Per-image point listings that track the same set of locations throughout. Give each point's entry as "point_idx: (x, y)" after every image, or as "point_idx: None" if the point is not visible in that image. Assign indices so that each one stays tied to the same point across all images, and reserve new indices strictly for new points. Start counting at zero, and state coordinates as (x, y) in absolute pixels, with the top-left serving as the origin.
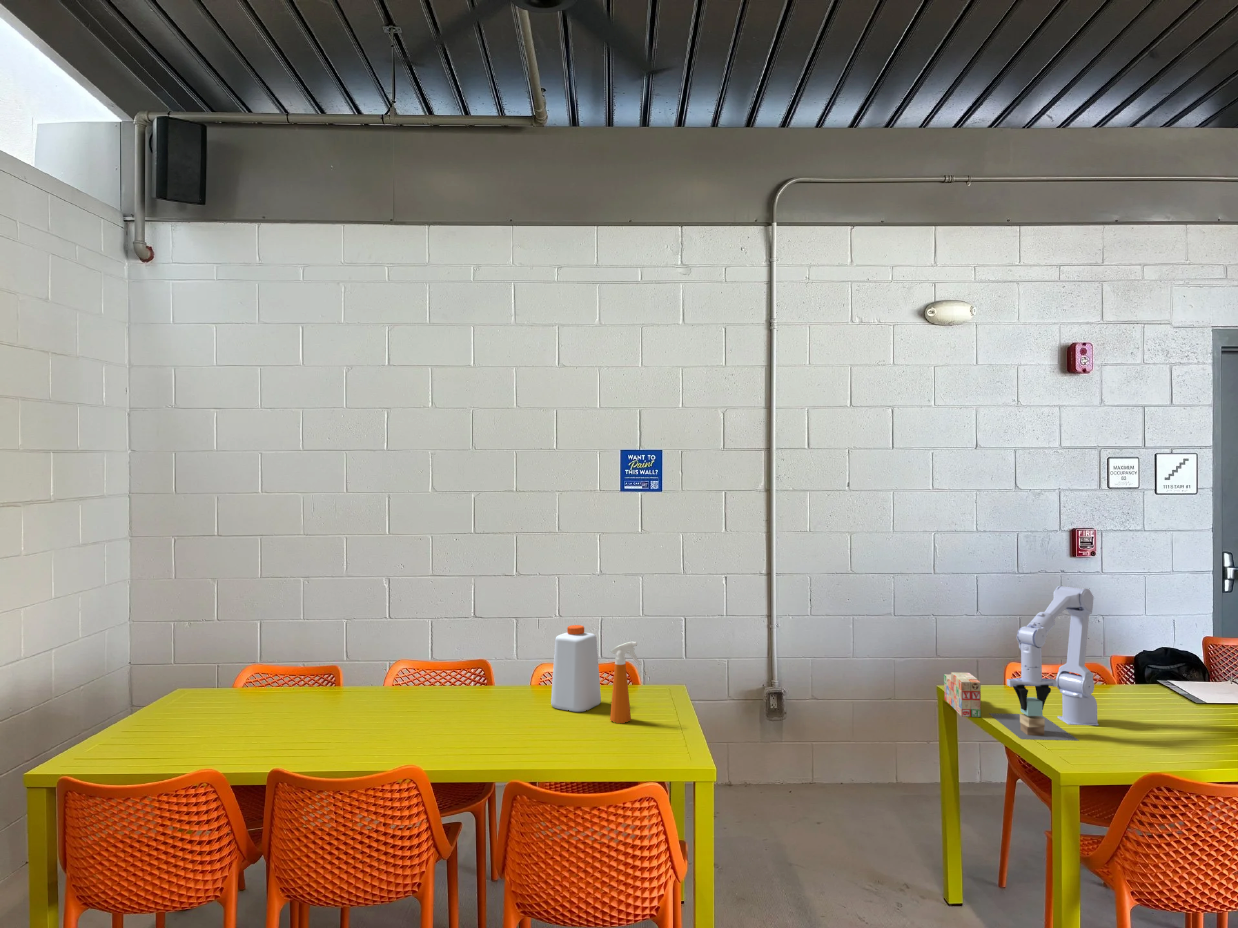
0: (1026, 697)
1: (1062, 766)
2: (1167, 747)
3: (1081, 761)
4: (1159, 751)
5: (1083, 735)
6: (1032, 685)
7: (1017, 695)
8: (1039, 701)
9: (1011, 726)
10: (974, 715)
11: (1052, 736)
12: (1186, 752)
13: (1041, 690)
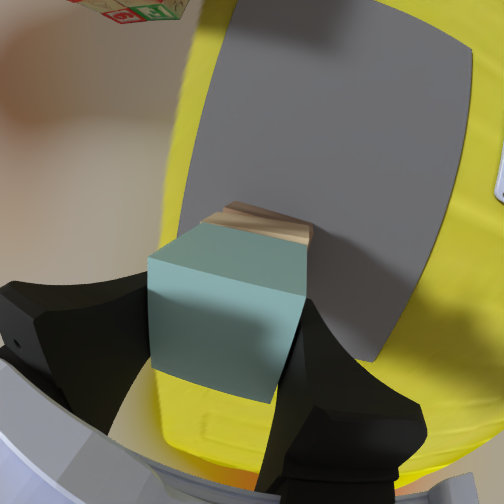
0: (129, 382)
1: (178, 435)
2: (497, 400)
3: (236, 440)
4: (462, 420)
5: (443, 312)
6: (157, 474)
7: (95, 285)
8: (245, 397)
9: (225, 145)
10: (154, 15)
11: None
12: (489, 420)
13: (264, 472)
